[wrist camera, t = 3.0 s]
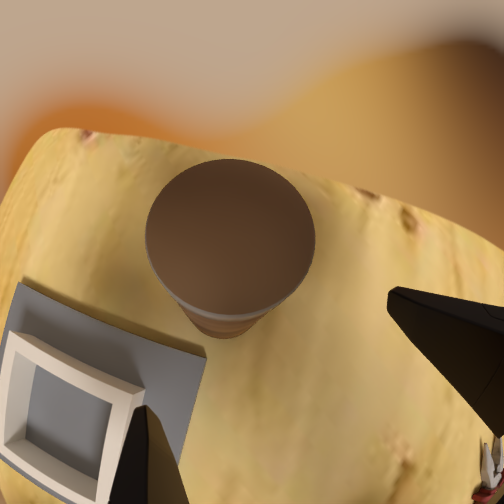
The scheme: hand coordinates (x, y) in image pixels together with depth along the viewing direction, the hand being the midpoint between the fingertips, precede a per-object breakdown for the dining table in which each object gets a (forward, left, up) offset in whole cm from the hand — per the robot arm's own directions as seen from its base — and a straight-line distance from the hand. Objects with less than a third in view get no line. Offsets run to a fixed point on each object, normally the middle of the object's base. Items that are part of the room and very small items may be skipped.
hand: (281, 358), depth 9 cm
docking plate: (-9, +11, -10) cm, 17 cm away
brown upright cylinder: (+3, +3, -11) cm, 11 cm away
